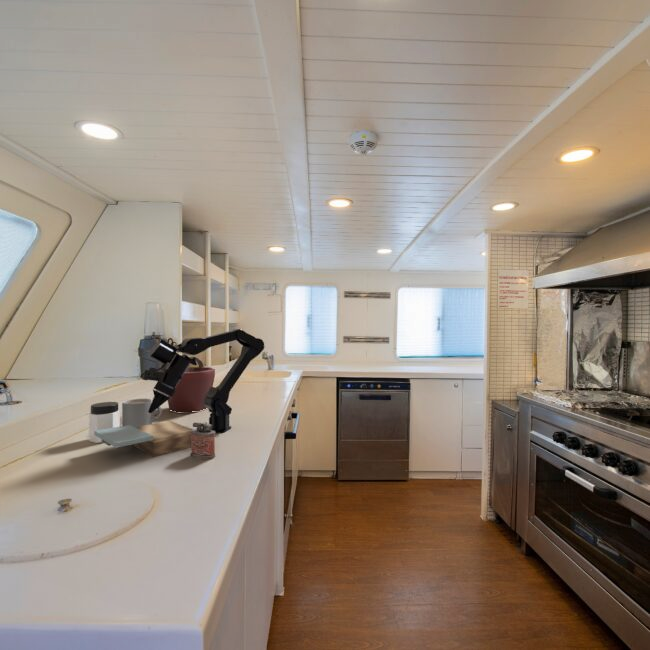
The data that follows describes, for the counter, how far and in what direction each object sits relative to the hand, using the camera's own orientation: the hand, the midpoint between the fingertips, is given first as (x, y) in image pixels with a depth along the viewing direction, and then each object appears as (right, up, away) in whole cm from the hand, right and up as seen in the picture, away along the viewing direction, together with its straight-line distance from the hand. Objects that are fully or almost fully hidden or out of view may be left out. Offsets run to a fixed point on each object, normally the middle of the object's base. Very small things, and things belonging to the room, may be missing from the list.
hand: (149, 412), depth 116 cm
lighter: (+22, -10, -11) cm, 26 cm away
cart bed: (+5, -10, -1) cm, 11 cm away
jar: (-18, -11, +5) cm, 22 cm away
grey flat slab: (0, -5, -5) cm, 8 cm away
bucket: (-7, -11, +50) cm, 52 cm away
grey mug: (-13, -11, +21) cm, 27 cm away
